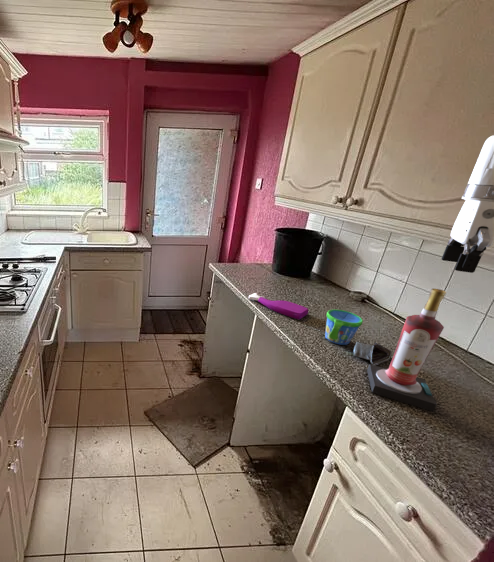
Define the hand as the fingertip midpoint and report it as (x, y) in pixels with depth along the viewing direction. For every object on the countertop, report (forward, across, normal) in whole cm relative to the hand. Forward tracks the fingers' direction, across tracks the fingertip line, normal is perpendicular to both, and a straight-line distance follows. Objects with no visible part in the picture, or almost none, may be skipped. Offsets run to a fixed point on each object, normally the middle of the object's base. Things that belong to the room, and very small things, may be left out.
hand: (456, 265), depth 76 cm
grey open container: (+38, +16, +6) cm, 41 cm away
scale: (+38, -1, +1) cm, 38 cm away
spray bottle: (+38, +39, +38) cm, 66 cm away
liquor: (+35, -1, +2) cm, 35 cm away
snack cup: (+38, +22, +15) cm, 46 cm away
